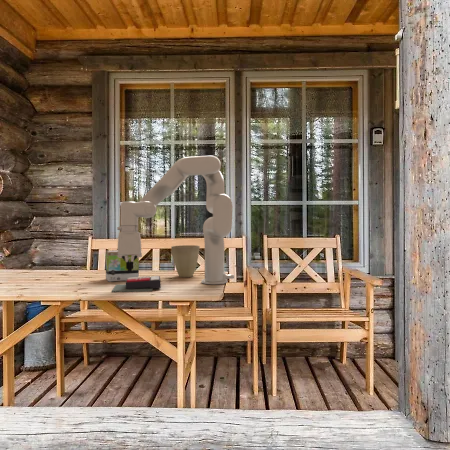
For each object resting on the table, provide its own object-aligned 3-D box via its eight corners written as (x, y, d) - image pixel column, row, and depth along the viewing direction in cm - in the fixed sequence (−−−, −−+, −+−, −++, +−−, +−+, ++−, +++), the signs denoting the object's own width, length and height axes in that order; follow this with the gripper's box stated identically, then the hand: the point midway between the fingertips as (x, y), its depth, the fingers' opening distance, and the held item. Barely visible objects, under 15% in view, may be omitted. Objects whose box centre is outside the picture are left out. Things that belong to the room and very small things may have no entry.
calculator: (126, 277, 202) (159, 274, 205) (127, 286, 202) (160, 283, 205) (125, 281, 191) (160, 278, 194) (125, 290, 192) (160, 287, 194)
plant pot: (201, 274, 240) (201, 245, 239) (197, 278, 225) (197, 247, 224) (174, 274, 241) (174, 244, 241) (168, 278, 226) (168, 247, 226)
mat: (153, 285, 206) (153, 283, 206) (152, 291, 190) (152, 289, 190) (116, 285, 204) (116, 284, 204) (111, 292, 188) (111, 290, 188)
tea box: (108, 282, 215) (107, 251, 214) (105, 279, 224) (105, 250, 223) (139, 280, 220) (138, 250, 220) (135, 277, 229) (135, 249, 229)
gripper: (111, 229, 191) (111, 272, 192) (146, 229, 193) (146, 271, 194) (113, 229, 199) (113, 269, 199) (147, 228, 201) (147, 269, 201)
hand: (129, 270), depth 197 cm, fingers closed
